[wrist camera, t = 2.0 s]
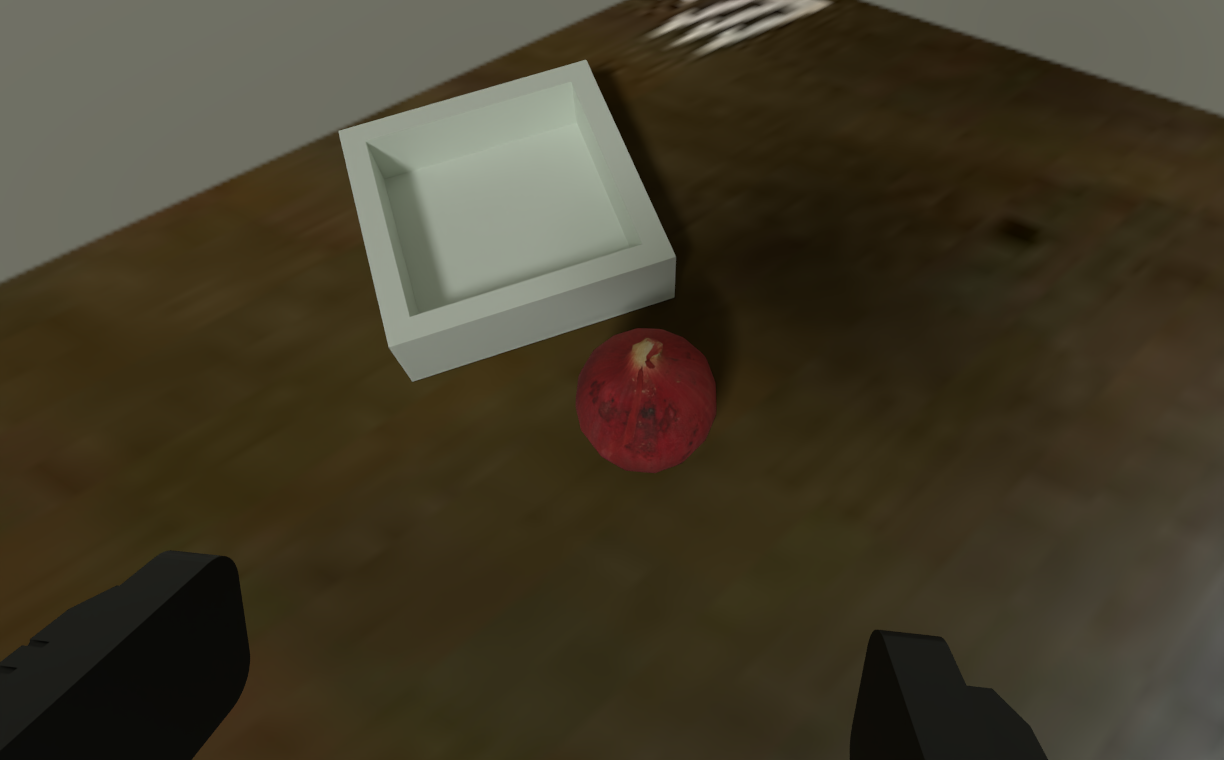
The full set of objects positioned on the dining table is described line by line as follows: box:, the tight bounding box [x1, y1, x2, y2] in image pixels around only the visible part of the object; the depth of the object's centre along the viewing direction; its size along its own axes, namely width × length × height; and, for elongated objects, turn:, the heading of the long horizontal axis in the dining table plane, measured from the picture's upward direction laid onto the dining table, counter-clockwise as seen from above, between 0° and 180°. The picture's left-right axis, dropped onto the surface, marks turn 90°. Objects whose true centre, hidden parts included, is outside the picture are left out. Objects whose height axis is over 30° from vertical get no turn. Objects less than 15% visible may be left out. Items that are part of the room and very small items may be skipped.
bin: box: [339, 60, 676, 382], centre depth 38 cm, size 13×13×4 cm
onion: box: [576, 328, 716, 473], centre depth 31 cm, size 6×6×8 cm
